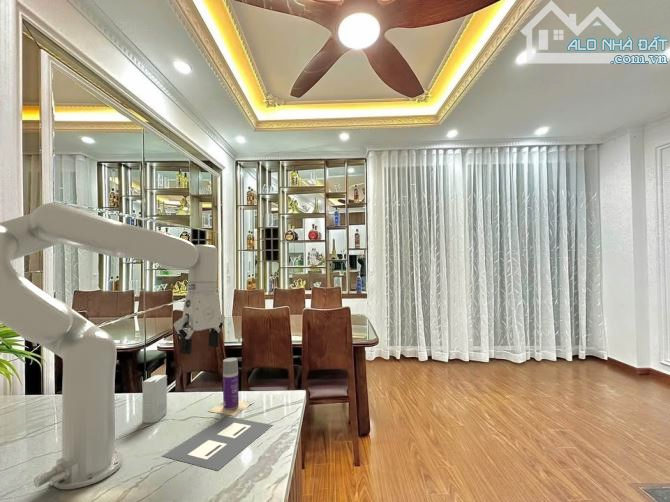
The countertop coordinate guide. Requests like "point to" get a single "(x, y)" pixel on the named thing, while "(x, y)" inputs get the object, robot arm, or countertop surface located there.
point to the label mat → (218, 442)
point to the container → (230, 384)
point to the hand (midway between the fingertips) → (200, 349)
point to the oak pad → (233, 412)
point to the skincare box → (154, 398)
